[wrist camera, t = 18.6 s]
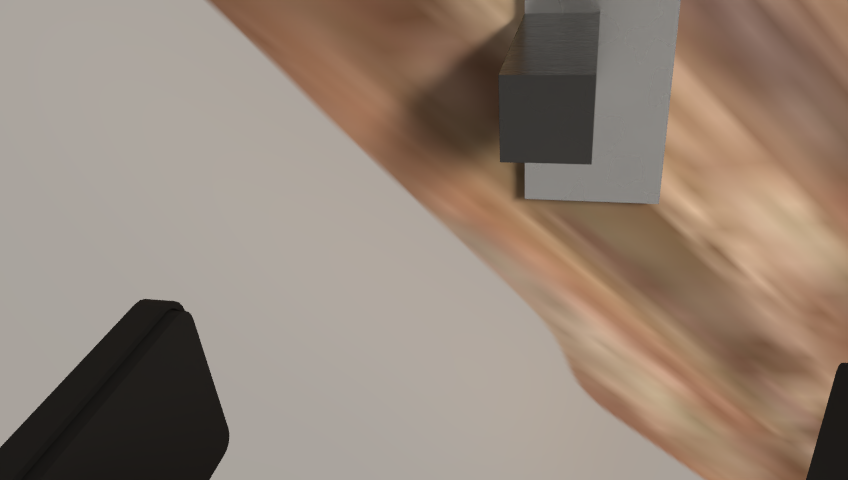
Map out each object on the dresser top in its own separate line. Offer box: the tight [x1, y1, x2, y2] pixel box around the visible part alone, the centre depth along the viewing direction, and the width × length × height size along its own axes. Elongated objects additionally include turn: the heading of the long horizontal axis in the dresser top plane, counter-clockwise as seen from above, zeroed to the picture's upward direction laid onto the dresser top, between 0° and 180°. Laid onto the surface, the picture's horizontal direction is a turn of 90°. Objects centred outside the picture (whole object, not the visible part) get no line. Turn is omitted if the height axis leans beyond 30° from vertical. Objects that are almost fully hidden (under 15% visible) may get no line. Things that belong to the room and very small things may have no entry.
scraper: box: [498, 0, 681, 204], centre depth 26 cm, size 6×14×9 cm, turn 5°
